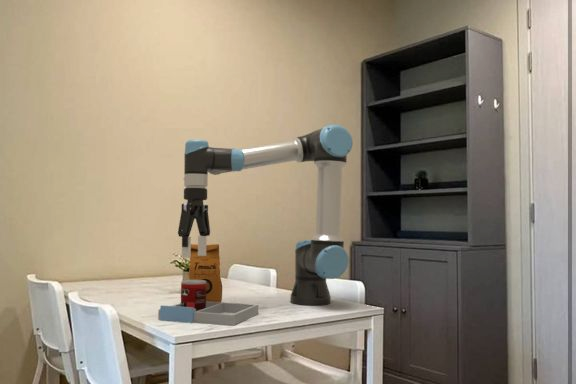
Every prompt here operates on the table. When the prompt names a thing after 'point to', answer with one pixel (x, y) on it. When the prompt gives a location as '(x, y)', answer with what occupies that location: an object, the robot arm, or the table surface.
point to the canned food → (193, 294)
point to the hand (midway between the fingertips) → (194, 256)
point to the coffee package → (207, 271)
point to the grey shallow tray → (209, 313)
